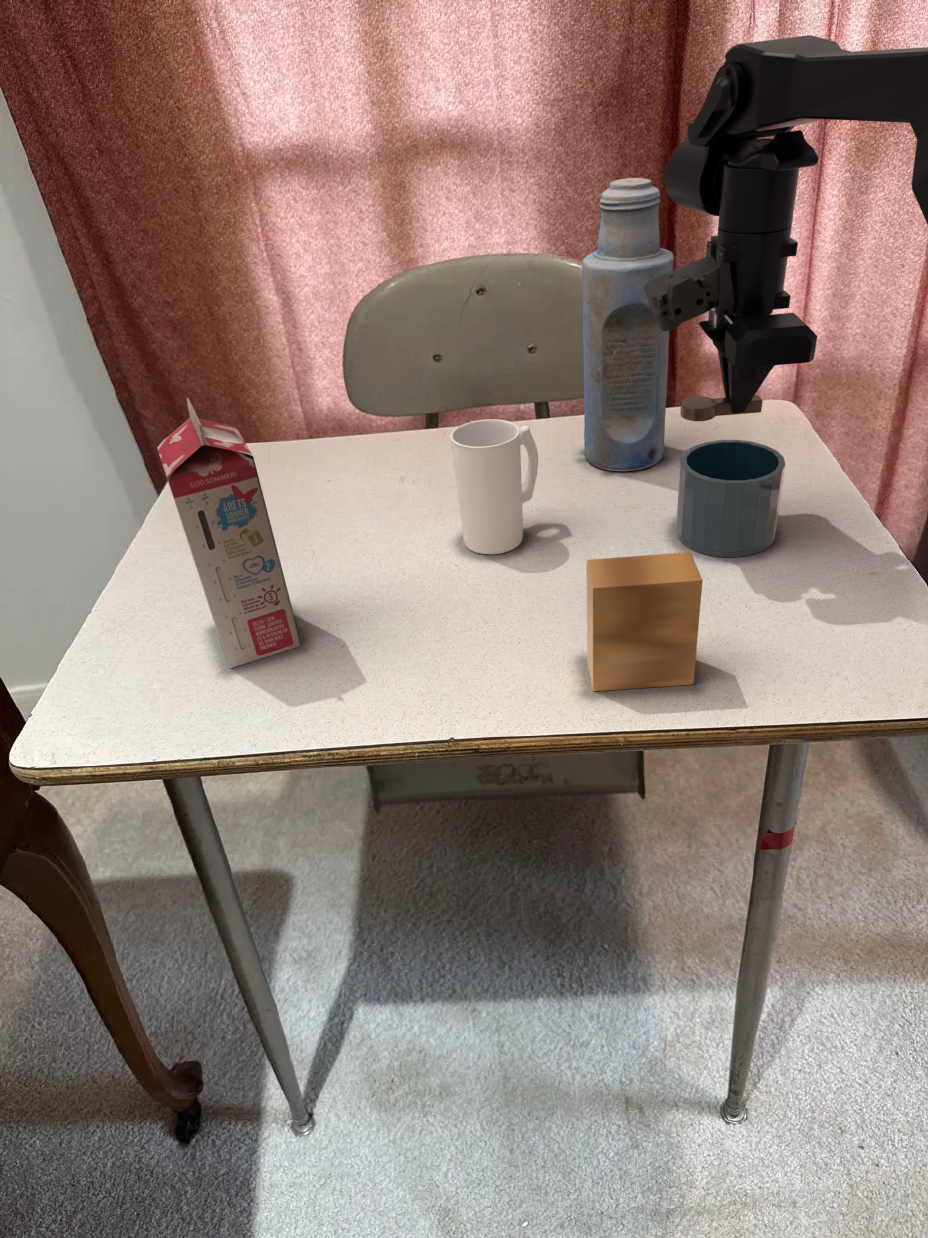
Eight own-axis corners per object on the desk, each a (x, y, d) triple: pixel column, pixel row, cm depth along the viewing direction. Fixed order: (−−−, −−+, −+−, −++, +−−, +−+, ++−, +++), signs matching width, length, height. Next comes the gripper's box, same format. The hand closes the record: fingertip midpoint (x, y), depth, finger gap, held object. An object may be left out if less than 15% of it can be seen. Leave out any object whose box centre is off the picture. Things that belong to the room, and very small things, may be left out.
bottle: (586, 475, 98) (584, 193, 81) (581, 440, 106) (579, 177, 89) (668, 471, 97) (685, 184, 80) (658, 436, 105) (671, 168, 88)
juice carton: (284, 609, 81) (226, 388, 68) (301, 645, 76) (242, 414, 63) (216, 630, 79) (144, 407, 66) (229, 668, 74) (153, 435, 61)
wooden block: (683, 654, 70) (691, 551, 64) (693, 684, 67) (703, 579, 61) (587, 660, 70) (586, 559, 65) (592, 691, 67) (592, 588, 61)
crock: (784, 518, 86) (794, 446, 82) (761, 565, 80) (771, 489, 75) (691, 503, 90) (697, 434, 86) (663, 547, 84) (667, 474, 79)
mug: (489, 564, 84) (480, 453, 77) (448, 541, 89) (436, 434, 82) (561, 526, 89) (558, 420, 82) (519, 506, 93) (513, 403, 87)
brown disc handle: (754, 403, 78) (755, 390, 78) (764, 416, 76) (766, 403, 75) (677, 409, 79) (677, 397, 78) (684, 422, 76) (685, 410, 76)
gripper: (635, 212, 76) (630, 379, 85) (678, 263, 61) (666, 460, 70) (759, 200, 75) (741, 370, 85) (834, 249, 60) (802, 449, 69)
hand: (734, 408), depth 77 cm, fingers closed on brown disc handle, 1 cm apart
